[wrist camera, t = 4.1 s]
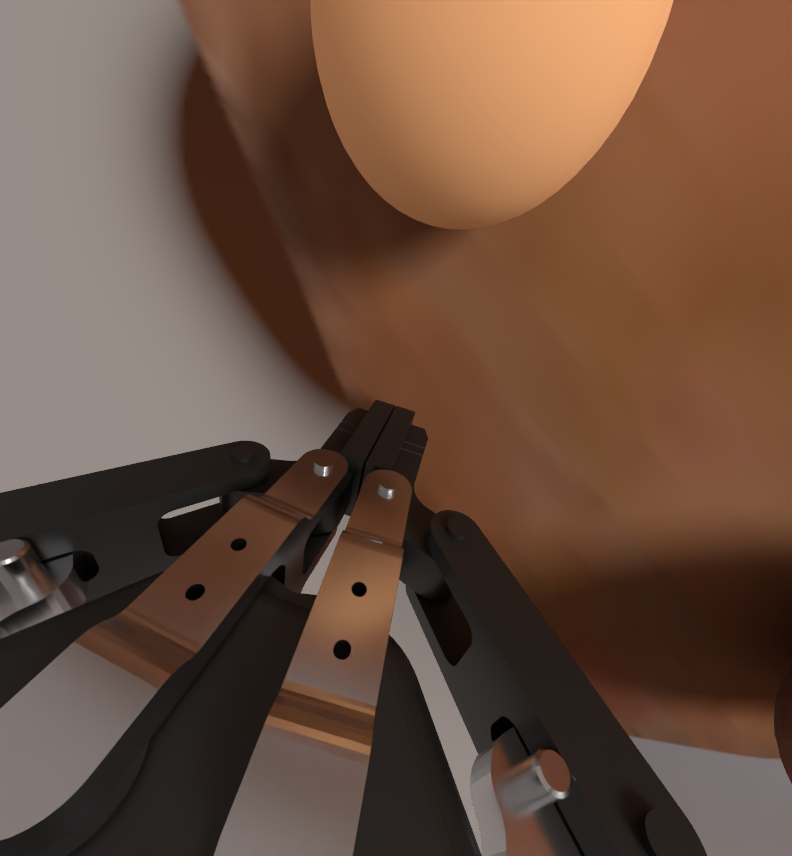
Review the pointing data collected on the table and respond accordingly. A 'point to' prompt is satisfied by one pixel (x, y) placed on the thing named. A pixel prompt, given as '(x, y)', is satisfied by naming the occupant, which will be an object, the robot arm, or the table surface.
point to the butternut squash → (784, 723)
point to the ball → (479, 95)
